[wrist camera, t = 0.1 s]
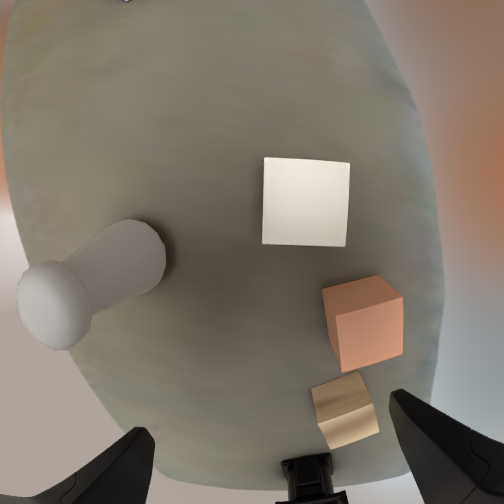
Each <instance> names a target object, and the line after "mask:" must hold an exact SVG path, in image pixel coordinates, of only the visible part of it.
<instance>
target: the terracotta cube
mask: <svg viewBox="0 0 504 504" xmlns="http://www.w3.org/2000/svg"><path fill="white" fill-rule="evenodd" d="M322 295H323V301H324V308H325V314H326V321H327V328H328V335H329V340H330V343H331V345H332V348H333V351H334V353H335V356H336V359H337V361H338V364H339V366H340V369H341V372H342V373H343V372H347V371H350V370H354V369H357V368H361V367H364V366H367V365H371V364H374V363H377V362H380V361H383V360H386V359H389V358H392V357H395V356H398V355H401V354H402V351H403V296H402V295H400V294H399V293H398V292H397V291H396V290H395V289H394V288H392V287H391V286H390V285H389V284H388V283H387V282H386V281H384V280H383V279H382V278H381V277H380V276H379V275H374V276H371V277H367V278H363V279H359V280H355V281H352V282H348V283H344V284H340V285H336V286H332V287H328V288H323V289H322Z"/></svg>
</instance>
